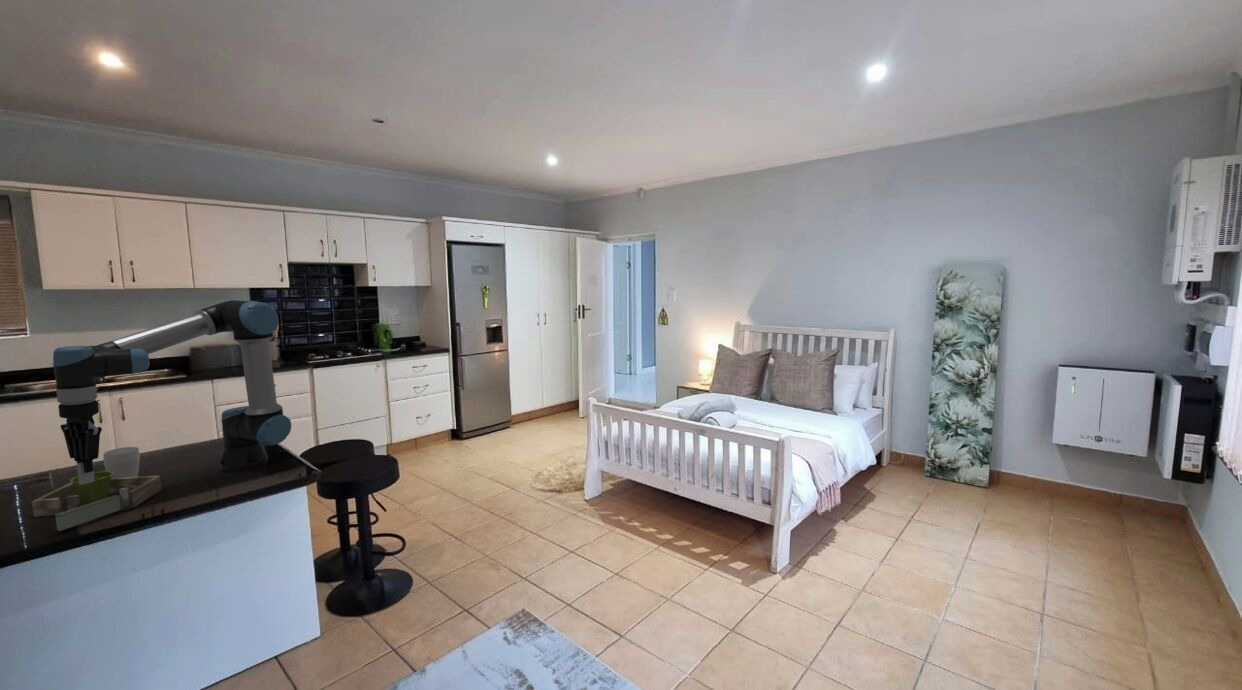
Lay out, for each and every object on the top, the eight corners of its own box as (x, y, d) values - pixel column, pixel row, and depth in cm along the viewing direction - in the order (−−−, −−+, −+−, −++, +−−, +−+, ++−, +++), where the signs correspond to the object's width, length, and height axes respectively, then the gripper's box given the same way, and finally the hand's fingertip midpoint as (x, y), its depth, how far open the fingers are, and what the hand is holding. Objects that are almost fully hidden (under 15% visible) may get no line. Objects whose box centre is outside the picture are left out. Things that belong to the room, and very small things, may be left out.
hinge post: (132, 508, 157) (129, 486, 156) (127, 510, 155) (125, 489, 154) (124, 508, 157) (122, 487, 156) (119, 511, 155) (117, 489, 154)
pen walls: (162, 489, 171) (161, 475, 171) (129, 510, 156) (127, 495, 155) (77, 494, 165) (75, 480, 165) (33, 517, 150) (31, 501, 149)
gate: (117, 509, 155) (116, 494, 154) (120, 509, 154) (119, 495, 154) (57, 530, 141) (55, 514, 141) (60, 530, 141) (58, 515, 140)
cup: (119, 490, 169) (115, 456, 168) (98, 487, 171) (95, 454, 170) (149, 480, 178) (146, 448, 177) (129, 477, 180) (126, 445, 178)
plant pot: (93, 496, 165) (90, 471, 164) (123, 496, 165) (121, 470, 164) (64, 508, 156) (61, 482, 154) (96, 508, 156) (93, 482, 155)
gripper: (111, 400, 140) (118, 481, 143) (80, 396, 144) (88, 475, 147) (75, 406, 133) (84, 491, 136) (44, 402, 137) (53, 484, 140)
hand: (86, 482), depth 141 cm, fingers closed
